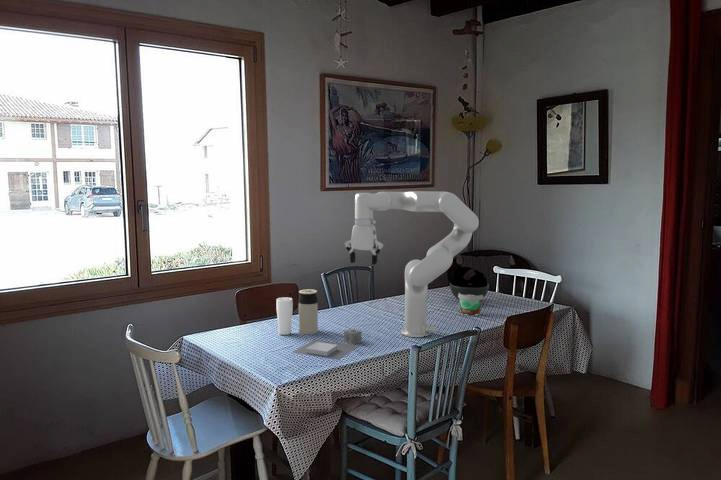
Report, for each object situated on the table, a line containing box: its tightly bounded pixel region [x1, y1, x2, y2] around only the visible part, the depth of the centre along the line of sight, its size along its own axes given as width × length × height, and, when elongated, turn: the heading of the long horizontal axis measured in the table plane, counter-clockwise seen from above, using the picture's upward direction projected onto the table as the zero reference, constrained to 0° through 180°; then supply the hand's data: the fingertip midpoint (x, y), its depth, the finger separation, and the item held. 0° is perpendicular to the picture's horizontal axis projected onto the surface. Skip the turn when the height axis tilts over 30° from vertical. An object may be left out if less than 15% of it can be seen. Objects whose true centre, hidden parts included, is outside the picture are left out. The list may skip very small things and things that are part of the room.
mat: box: [292, 339, 360, 361], centre depth 228 cm, size 20×18×1 cm
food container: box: [458, 292, 485, 315], centre depth 282 cm, size 12×6×10 cm, turn 68°
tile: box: [306, 342, 338, 356], centre depth 224 cm, size 9×2×9 cm
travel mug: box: [298, 288, 319, 335], centre depth 250 cm, size 8×8×18 cm
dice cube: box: [343, 328, 363, 345], centre depth 237 cm, size 5×5×5 cm
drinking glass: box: [275, 296, 294, 336], centre depth 248 cm, size 7×7×15 cm
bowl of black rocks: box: [449, 266, 490, 302], centre depth 305 cm, size 20×20×19 cm
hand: (363, 263), depth 246 cm, fingers open, 9 cm apart
